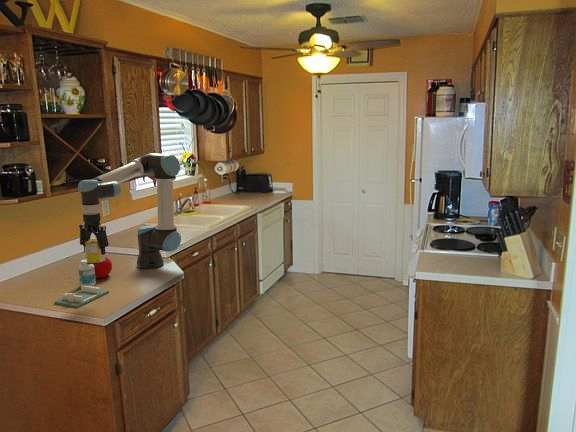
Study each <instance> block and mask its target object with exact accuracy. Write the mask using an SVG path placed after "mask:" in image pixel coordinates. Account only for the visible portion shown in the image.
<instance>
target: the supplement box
mask: <svg viewBox="0 0 576 432" xmlns="http://www.w3.org/2000/svg"><path fill="white" fill-rule="evenodd" d="M85 245H86V256H87V264H100V263H101V262H100V258H99V248H100V246H99V244H98V241H97V239H96V238H90V239H89V240H88V241H86V242H85ZM86 256H85V257H86ZM102 262H103V261H102Z"/></svg>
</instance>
